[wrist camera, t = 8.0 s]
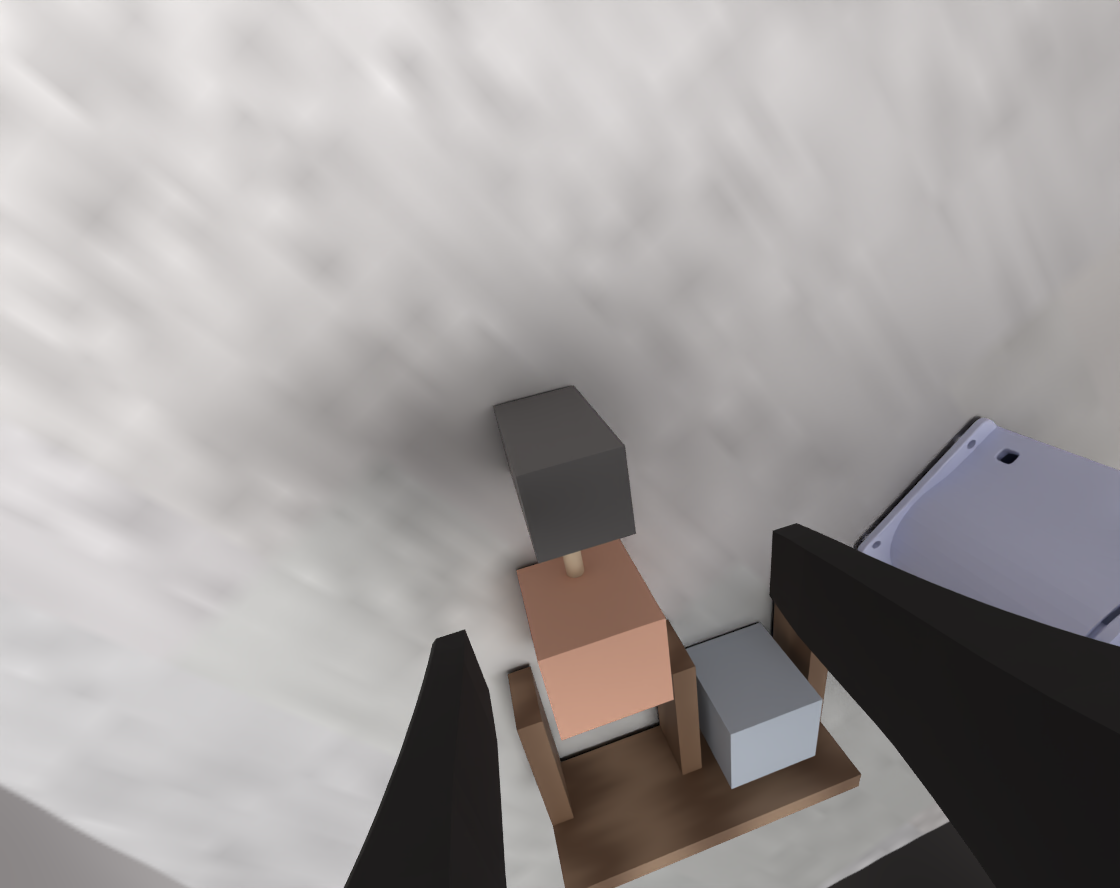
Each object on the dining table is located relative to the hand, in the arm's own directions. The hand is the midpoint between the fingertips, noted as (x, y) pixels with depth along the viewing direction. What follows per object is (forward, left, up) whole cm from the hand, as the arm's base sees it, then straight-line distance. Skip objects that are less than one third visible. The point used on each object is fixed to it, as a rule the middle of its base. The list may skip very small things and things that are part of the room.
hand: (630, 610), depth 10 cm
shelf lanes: (+9, +15, -9) cm, 20 cm away
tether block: (+3, +3, -9) cm, 10 cm away
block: (+7, +18, -10) cm, 22 cm away
